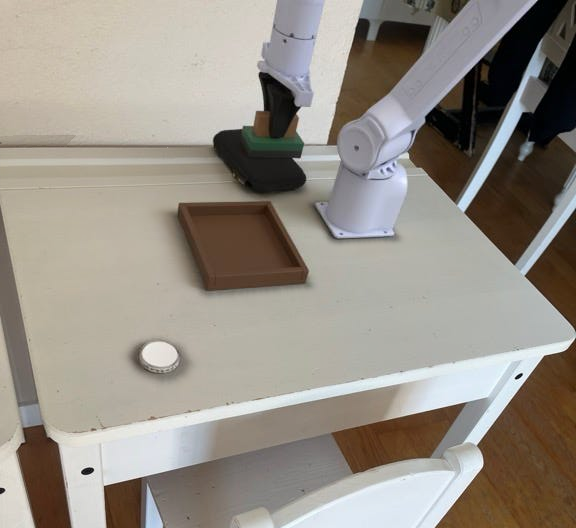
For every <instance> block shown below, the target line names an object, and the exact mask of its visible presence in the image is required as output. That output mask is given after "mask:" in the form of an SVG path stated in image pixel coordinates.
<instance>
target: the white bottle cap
mask: <svg viewBox="0 0 576 528" xmlns="http://www.w3.org/2000/svg"><path fill="white" fill-rule="evenodd" d="M180 357H181V354H180V351H179V349H178V347H176V346H175V344H173V343H171V342H169V341H165V340H161V339H160V340H151V341H148V342H146V343H145V344H144V345H143V346H142V347H141V348H140V350H139V362H140V364H141V366H142V367H143V368H145V369H146V370H148V371H150V372H152V373H157V374H165V373H169V372H171V371H173V370H175V369H176V368H177V367H178V366H179V363H180V359H181V358H180Z"/></svg>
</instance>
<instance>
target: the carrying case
mask: <svg viewBox="0 0 576 528" xmlns="http://www.w3.org/2000/svg"><path fill="white" fill-rule="evenodd" d="M241 134H242V128H235V129H223V130H220V131H218V132H217V133H216V134H215V135H214V136H213V138H212V144H213V145H212V146H213V148H214V149H215V150H216V152H217V153H218V154H219V155H220V156H221V157H222V159H223V160H224V161H225V162H226V164H227V165H228V166H229V167H230V168H231V170H232V172H231V176H232V178H233V179H234V180H236V181H238V182H239V183H241V185H243V186H244V187H246V188H249V189H250V191H252V192H253V193H255V194H261V195H262V194H271V193H278V192H287V191H294V190H298V189H299V188H302V187H304V186H305V184H306V183H307V175H306V173H305V172H304V170H303V168H302V167H301V166H300V165H299V164H298V163H297V162H296V161H295V159H294V158H249V156H248V154H247V152H246V150H245V149H244V147H243V145H242V143H241V142H240V140H241Z"/></svg>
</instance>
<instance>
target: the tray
mask: <svg viewBox="0 0 576 528" xmlns="http://www.w3.org/2000/svg"><path fill="white" fill-rule="evenodd" d="M177 219H178V221H179V224H180V226H181V229H182V232H183V234H184V237H185V239H186V241H187V244H188V246H189V249H190V252H191V255H192V256H193V259H194V262H195V264H196V266H197V269H198V272H199V274H200V276H201V279H202V281H203V284H204V286H205V289H206V291H208V292H210V291H223V290H236V289H248V288H250V289H251V288H263V287H264V288H265V287H275V286H276V287H277V286H289V285H290V286H291V285H302V284H303V285H304V284H306V282H307V278H308V276H309V272H310V270H309V268H308V266H307V264H306V262H305V261H304V259H303V257H302V255H301V254H300V252H299V250H298V248H297V246H296V244H295V243H294V241H293V239H292V237H291V236H290V234H289V232H288V230H287V228H286V227H285V225H284V222H283V221H282V220H281V218H280V216H279V213H277V211H276V209H275V206H274V205H273V203H272V202H271V200H258V201H257V200H255V201H254V200H252V201H250V200H249V201H247V200H246V201H200V202H195V201H194V202H178V208H177Z"/></svg>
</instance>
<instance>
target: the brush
mask: <svg viewBox="0 0 576 528" xmlns="http://www.w3.org/2000/svg"><path fill="white" fill-rule="evenodd" d="M269 120H270V111H264V110H255V115H254V120H253V121H254V122H253V125H242V127H241V129H242V134H241V140H240V142H241V143H242V145H243V147H244V149H245V150H246V152H247V154H248V156H249V158H293V159H302V154H303V150H304V146H305V142H304V141H303V139H302V137H301V136H300V135H299V132H298V131H297V129H298V124H299V120H300V117H299V115H298V114H297V113H296V115H295V117H294V118H293V120H292V122H291V124H290V126H289V128H288V130H287V132H286V134H285V136H284V137H271V136H270V135H269Z"/></svg>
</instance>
